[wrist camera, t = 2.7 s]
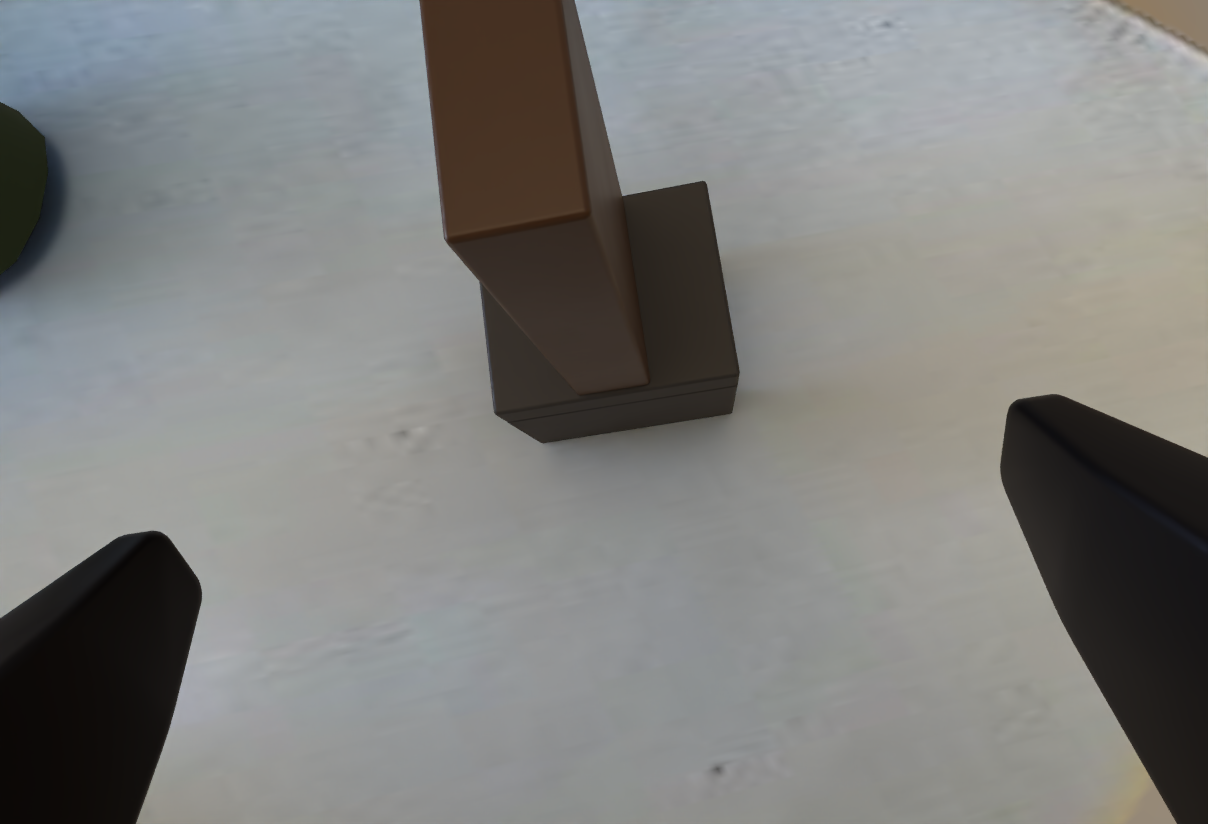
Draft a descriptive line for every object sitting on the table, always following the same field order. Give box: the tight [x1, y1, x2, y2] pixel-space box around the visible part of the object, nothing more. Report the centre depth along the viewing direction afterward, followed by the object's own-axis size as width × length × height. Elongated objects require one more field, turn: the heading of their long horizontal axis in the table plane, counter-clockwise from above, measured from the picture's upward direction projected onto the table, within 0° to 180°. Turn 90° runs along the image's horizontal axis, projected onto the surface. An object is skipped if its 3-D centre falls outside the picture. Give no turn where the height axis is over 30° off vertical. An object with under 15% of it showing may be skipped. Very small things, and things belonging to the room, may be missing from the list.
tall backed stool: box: [419, 0, 740, 443], centre depth 14 cm, size 4×5×12 cm
